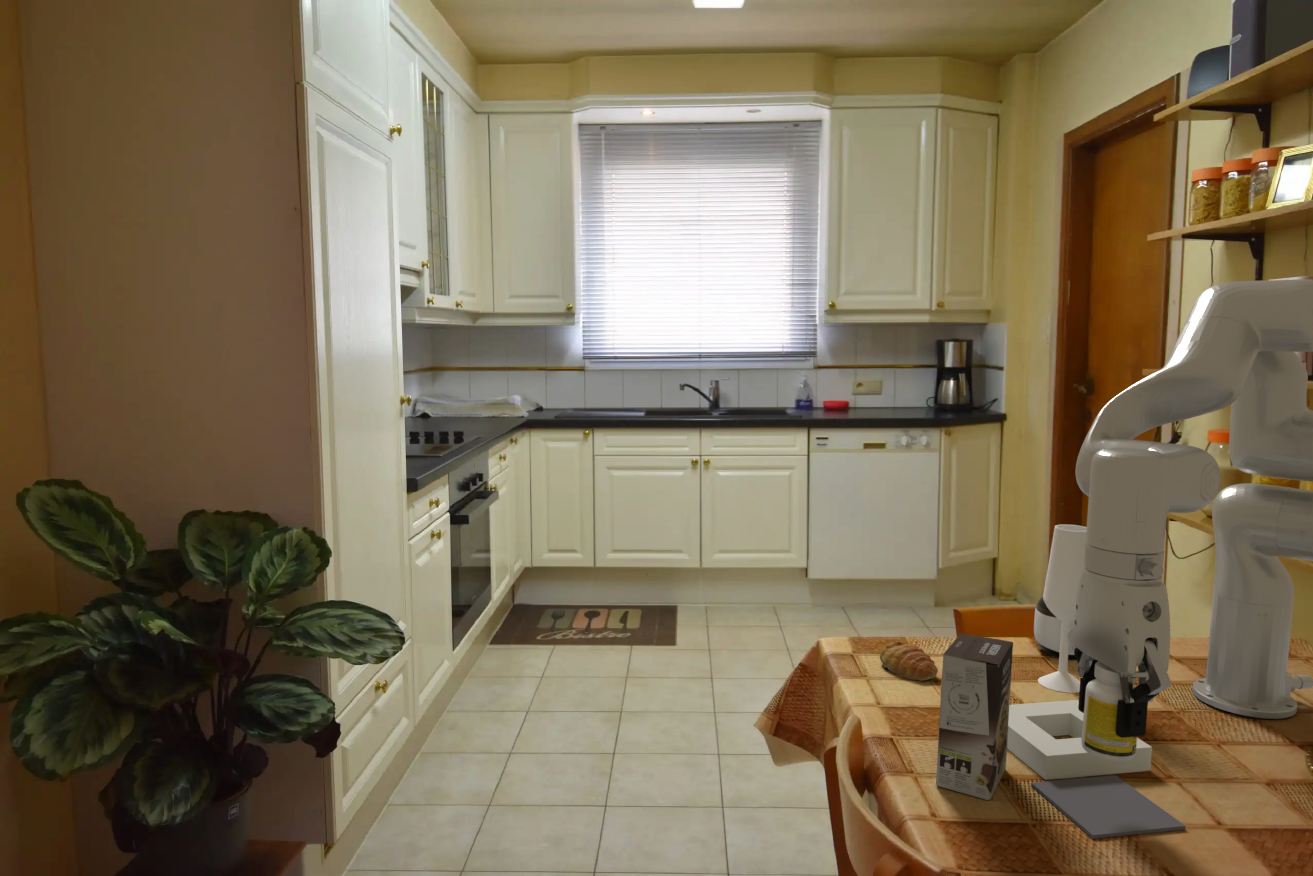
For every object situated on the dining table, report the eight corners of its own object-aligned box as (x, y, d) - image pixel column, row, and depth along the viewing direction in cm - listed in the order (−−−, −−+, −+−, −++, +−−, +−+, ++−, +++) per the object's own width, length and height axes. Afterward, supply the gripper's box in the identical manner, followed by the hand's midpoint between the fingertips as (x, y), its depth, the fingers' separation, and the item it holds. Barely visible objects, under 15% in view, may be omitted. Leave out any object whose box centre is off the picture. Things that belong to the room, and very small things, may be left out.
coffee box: (992, 802, 100) (999, 664, 98) (934, 786, 104) (940, 653, 102) (1008, 769, 108) (1015, 640, 106) (953, 755, 111) (960, 630, 109)
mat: (1115, 778, 106) (1115, 775, 106) (1185, 829, 95) (1185, 825, 95) (1031, 786, 104) (1031, 782, 104) (1092, 838, 93) (1093, 835, 93)
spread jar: (1040, 659, 144) (1044, 589, 143) (1023, 635, 156) (1027, 570, 154) (1119, 664, 142) (1124, 593, 141) (1096, 640, 154) (1101, 574, 152)
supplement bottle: (1142, 766, 95) (1150, 678, 94) (1088, 760, 97) (1095, 673, 95) (1126, 743, 101) (1133, 660, 100) (1075, 738, 102) (1081, 655, 101)
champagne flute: (1027, 679, 136) (1037, 525, 133) (1060, 672, 139) (1070, 521, 136) (1063, 695, 130) (1074, 534, 127) (1096, 688, 132) (1108, 530, 130)
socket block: (1076, 720, 121) (1078, 699, 121) (1150, 770, 108) (1152, 747, 107) (982, 728, 119) (983, 706, 119) (1045, 780, 105) (1046, 756, 105)
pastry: (948, 679, 136) (949, 655, 136) (913, 687, 133) (914, 662, 133) (907, 659, 145) (908, 636, 144) (874, 665, 142) (874, 642, 141)
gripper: (1215, 583, 88) (1200, 757, 91) (1101, 543, 105) (1090, 690, 107) (1148, 586, 87) (1134, 762, 89) (1043, 545, 104) (1033, 694, 106)
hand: (1110, 721), depth 98 cm, fingers closed on supplement bottle, 5 cm apart
